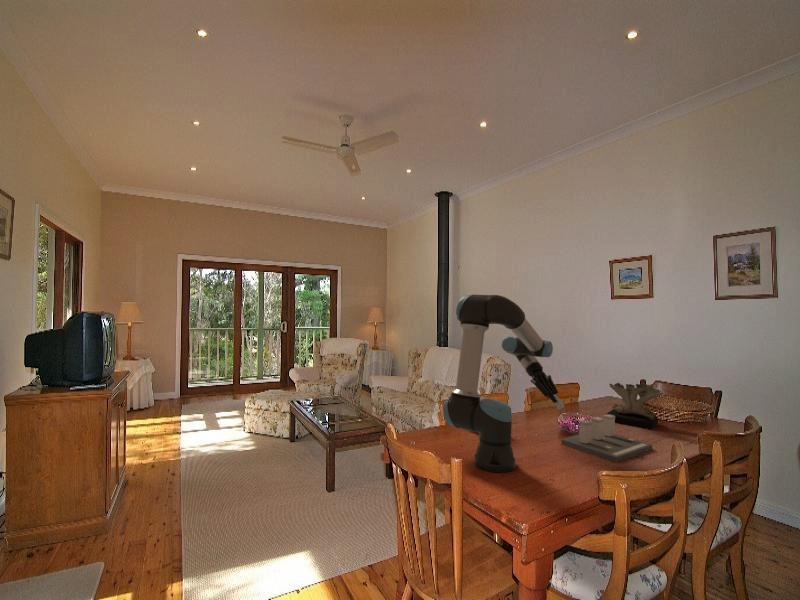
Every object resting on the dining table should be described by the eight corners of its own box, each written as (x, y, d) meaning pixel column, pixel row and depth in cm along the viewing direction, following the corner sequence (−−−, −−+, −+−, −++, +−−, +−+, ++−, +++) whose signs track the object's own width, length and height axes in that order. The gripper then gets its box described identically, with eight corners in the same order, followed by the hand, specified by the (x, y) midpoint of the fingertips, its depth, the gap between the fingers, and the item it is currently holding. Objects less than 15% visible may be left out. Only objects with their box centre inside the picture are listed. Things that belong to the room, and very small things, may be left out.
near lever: (585, 443, 170) (586, 423, 170) (578, 441, 173) (579, 421, 173) (591, 442, 173) (592, 421, 173) (584, 439, 175) (585, 419, 175)
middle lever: (598, 440, 175) (598, 420, 175) (591, 438, 178) (591, 418, 178) (603, 438, 177) (603, 418, 178) (596, 436, 180) (596, 416, 180)
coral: (666, 425, 206) (667, 383, 207) (656, 434, 192) (657, 389, 192) (612, 415, 224) (613, 376, 224) (600, 423, 209) (601, 381, 209)
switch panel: (616, 462, 157) (616, 457, 157) (561, 443, 177) (561, 439, 177) (652, 449, 172) (652, 444, 172) (597, 433, 192) (598, 429, 192)
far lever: (609, 436, 180) (610, 417, 180) (602, 434, 183) (603, 415, 183) (614, 435, 182) (615, 415, 182) (607, 433, 185) (608, 414, 185)
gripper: (535, 369, 203) (565, 410, 189) (518, 371, 195) (547, 414, 182) (545, 360, 198) (575, 401, 185) (527, 362, 191) (558, 405, 177)
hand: (561, 408), depth 183 cm, fingers closed
